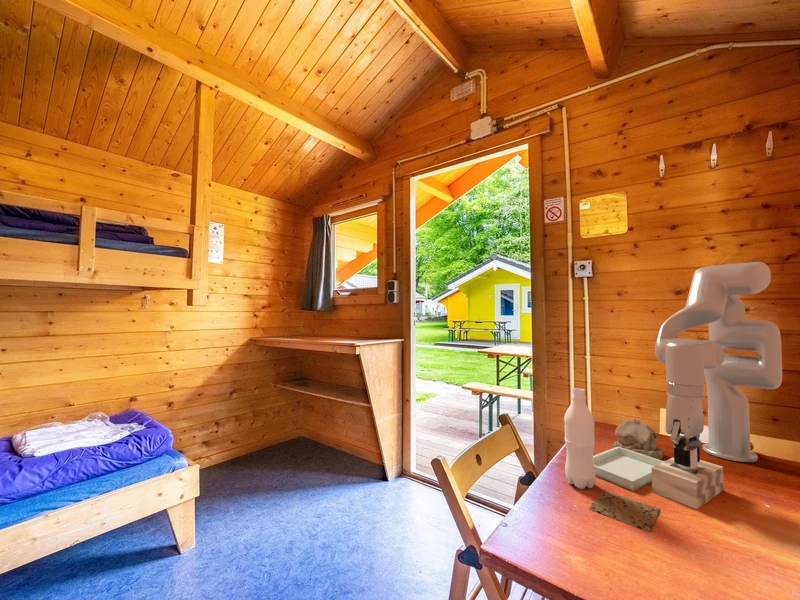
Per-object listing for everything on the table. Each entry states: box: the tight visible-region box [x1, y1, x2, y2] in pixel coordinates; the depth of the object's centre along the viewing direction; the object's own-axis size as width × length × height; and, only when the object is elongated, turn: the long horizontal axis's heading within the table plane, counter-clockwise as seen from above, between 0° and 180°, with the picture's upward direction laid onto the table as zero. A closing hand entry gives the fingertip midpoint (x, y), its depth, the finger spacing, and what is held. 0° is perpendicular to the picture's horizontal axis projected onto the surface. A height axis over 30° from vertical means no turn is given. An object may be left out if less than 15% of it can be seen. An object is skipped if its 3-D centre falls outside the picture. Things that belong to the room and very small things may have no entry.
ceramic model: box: [613, 419, 665, 460], centre depth 113 cm, size 14×11×10 cm
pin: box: [677, 434, 702, 474], centre depth 87 cm, size 6×6×13 cm
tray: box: [593, 447, 665, 492], centre depth 98 cm, size 20×14×2 cm
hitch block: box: [651, 456, 724, 510], centre depth 87 cm, size 16×9×6 cm, turn 120°
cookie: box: [588, 490, 661, 533], centre depth 80 cm, size 12×12×1 cm
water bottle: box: [563, 387, 597, 490], centre depth 91 cm, size 7×7×25 cm
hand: (687, 461), depth 87 cm, fingers closed on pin, 4 cm apart
